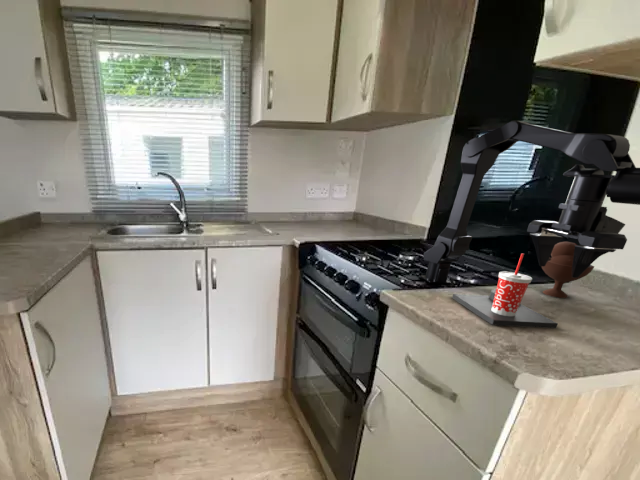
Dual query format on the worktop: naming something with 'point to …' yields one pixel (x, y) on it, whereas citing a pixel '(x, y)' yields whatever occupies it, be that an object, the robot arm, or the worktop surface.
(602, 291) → the worktop surface
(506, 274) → the beverage cup
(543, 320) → the scale
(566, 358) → the worktop surface
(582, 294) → the worktop surface
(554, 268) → the ice cream bowl
